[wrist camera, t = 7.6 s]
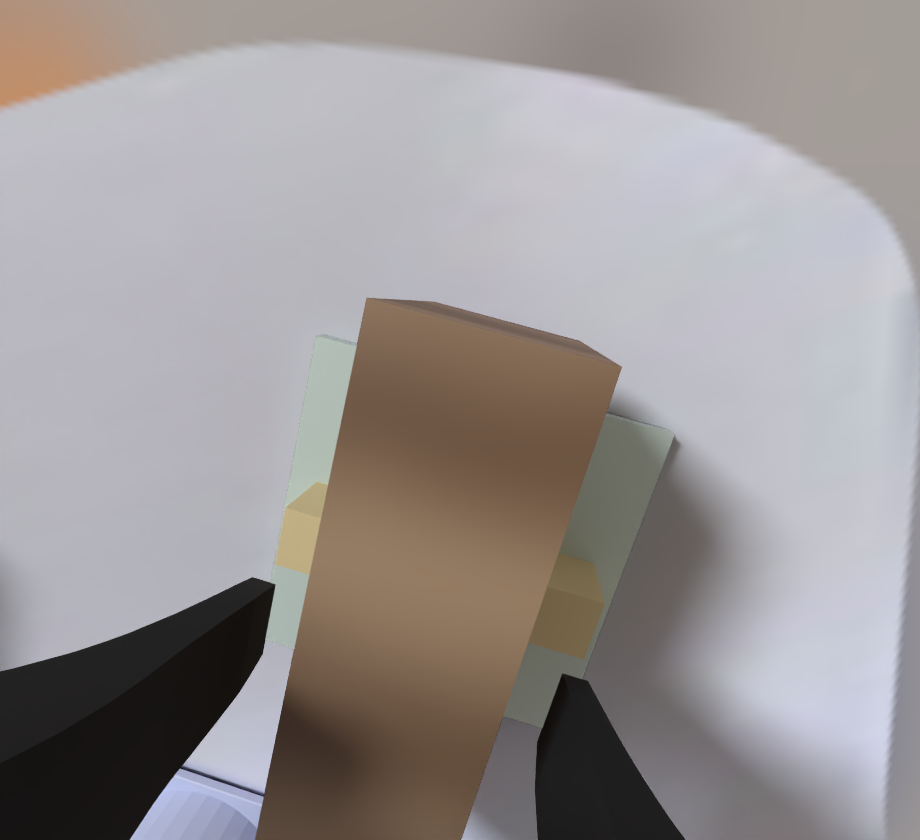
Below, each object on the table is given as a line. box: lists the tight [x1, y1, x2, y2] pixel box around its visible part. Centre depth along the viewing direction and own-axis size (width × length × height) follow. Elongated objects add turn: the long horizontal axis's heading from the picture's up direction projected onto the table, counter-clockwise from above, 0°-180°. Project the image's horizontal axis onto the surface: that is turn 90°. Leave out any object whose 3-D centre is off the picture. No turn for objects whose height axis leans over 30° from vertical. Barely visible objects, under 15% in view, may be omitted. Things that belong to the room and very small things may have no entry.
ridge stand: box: [265, 334, 674, 728], centre depth 17 cm, size 12×12×3 cm
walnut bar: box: [255, 298, 622, 840], centre depth 12 cm, size 16×4×6 cm, turn 166°
